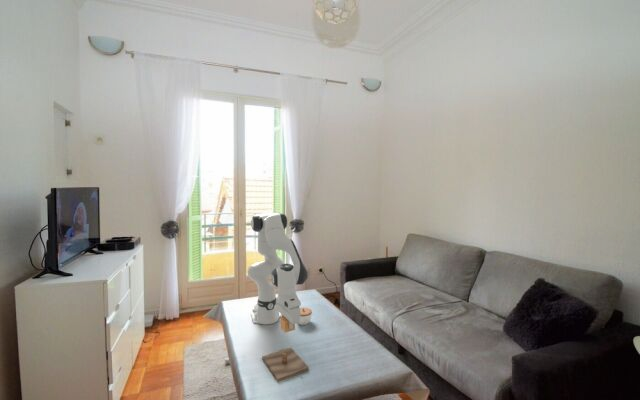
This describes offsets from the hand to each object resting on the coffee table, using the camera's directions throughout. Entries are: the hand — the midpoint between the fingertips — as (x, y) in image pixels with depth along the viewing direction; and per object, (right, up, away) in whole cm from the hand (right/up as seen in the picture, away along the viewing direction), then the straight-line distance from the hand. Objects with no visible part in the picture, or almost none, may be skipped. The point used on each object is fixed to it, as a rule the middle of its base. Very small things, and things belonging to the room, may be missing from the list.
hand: (287, 325), depth 147 cm
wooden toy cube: (0, -2, 0) cm, 2 cm away
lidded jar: (+5, -17, +43) cm, 46 cm away
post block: (-2, -20, 0) cm, 20 cm away
